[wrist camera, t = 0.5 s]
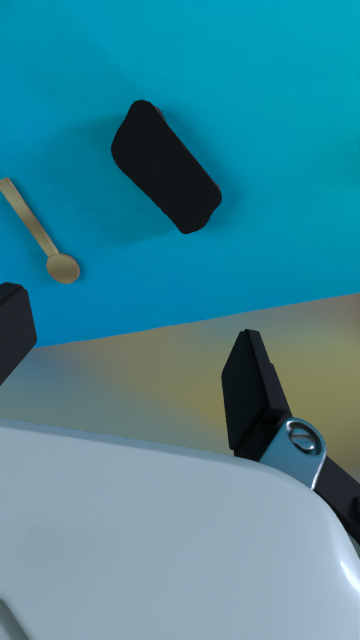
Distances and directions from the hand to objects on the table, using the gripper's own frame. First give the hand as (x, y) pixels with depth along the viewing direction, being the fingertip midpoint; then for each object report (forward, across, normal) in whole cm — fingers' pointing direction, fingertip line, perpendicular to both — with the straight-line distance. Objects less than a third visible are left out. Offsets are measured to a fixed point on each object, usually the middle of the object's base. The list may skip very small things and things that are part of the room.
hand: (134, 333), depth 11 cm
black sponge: (+34, +2, -4) cm, 34 cm away
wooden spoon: (+33, +23, +10) cm, 42 cm away
